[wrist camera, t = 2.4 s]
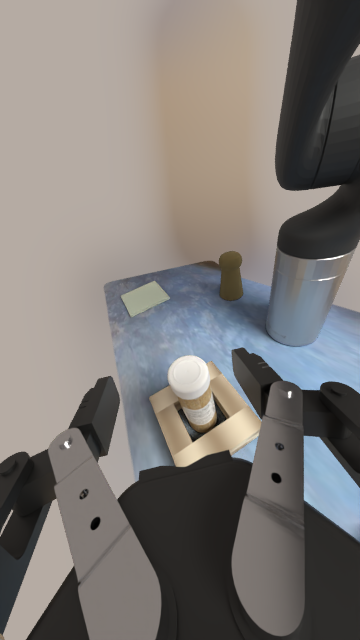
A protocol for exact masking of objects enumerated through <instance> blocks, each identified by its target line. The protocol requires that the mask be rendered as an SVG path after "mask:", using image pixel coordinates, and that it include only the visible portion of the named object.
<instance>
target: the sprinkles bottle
mask: <svg viewBox="0 0 360 640" xmlns="http://www.w3.org/2000/svg"><path fill="white" fill-rule="evenodd" d="M168 382H169V384H170V386H171V389H172V390H173V392H174V393H175V394H176V395H177V397H178V399H179V402H180V404H181V406H182V409H183V411H184V413H185V415H186V417H187V419H188V421H189V424H190V425H191V427H192V428H193V429H194V430H196V431H197V432H201V433H205V432H208V431H211V430H212V429H213V428H214V426H215V424H216V422H217V413H216V411H215V404H214V400H213V395H212V390H211V387H210V375H209V370H208V367H207V365H206V363H205V362H204V361H203V360H202V359H201V358H199V357H196V356H192V355H188V356H183V357H180V358H178V359H177V360H175V361H174V362H173V363H172V364H171V366H170V368H169V370H168Z"/></svg>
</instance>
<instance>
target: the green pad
mask: <svg viewBox="0 0 360 640" xmlns="http://www.w3.org/2000/svg"><path fill="white" fill-rule="evenodd" d="M121 298H122V300H123V302H124V304H125V306H126V308H127V310H128V312H129V314H130V316H131V317H133V316H135V315H137V314H139V313H141V312H143V311H145V310H147V309H150V308H152V307H154V306H156V305H158V304H160V303H162V302H164V301H166V300H168V299H170V297H169V296H168V295H167V294H166V293H165V292H164V290H163V289H162V288H161V287H160V286H159V285H158V284H157V283H156V282H155V281H153V282H151V283H148V284H146V285H144V286H142V287H139V288H137V289H135V290H133V291H130V292H128V293H126V294H124V295H121Z"/></svg>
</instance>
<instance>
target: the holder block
mask: <svg viewBox="0 0 360 640" xmlns="http://www.w3.org/2000/svg"><path fill="white" fill-rule="evenodd" d="M206 365H207V367H208V370H209V375H210V387H211V390H212V395H213V399H214V401H215V402H216V404H217V405H218V407H219V408H220V410H221V411H222V412H223V414H224V415H225V417H226V418H227V420H226V421H224V422H223V423H221V424H220V425H218V426H217V427H215V428H214V429H212V430H211V431H209V432H208V433H206V434H205V435H203V436H202V437H200V438H199V439H198V440H196V441H195V442H192V440H191V438H190V436H189V433H188V431H187V429H186V427H185V425H184V423H183V421H182V419H181V417H180V415H179V413H178V410H180V409H182V406H181V404H180V402H179V399H178V397H177V395H176V394H175V393H174V392H173V390H172V389H171V386H170V385H169V386H167V387H166V388H164V389H162V390H161V391H159V392H157V393H156V394H154V395H152V396H150V397H149V399H150V401H151V404H152V406H153V409H154V412H155V414H156V417H157V419H158V422H159V424H160V427H161V429H162V432H163V434H164V437H165V440H166V442H167V445H168V447H169V450H170V452H171V455H172V457H173V460H174V462H175V465H176V467H186V466H188V465H190V464H192V463H194V462H195V461H197V460H199V459H201V458H203V457H204V456H206V455H209V454H213V453H217V452H221V451H225V450H229V451H230V454H231V456H232V455H233V454H234V453H236V452H237V451H238V450H240V449H241V448H243V447H244V446H245V445H247V444H248V443H249V442H251V441H252V440H253V439H255V438H256V437H258V436H259V432H260V427H261V421H260V420H259V418H258V417H257V416H256V415H255V413H254V412H253V411H252V410H251V409H250V407H249V406H248V405H247V404H246V402H245V401H244V400H243V399H242V398H241V396H240V395H239V394H238V393H237V391H236V390H235V389H234V388H233V386H232V385H231V384H230V383H229V382H228V380H227V379H226V378H225V377H224V375H223V374H222V373H221V372H220V371H219V369H218V368H217V367H216V366H215V364H214V363H213V362H212V361H210V362H208V363H207V364H206Z"/></svg>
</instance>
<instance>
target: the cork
mask: <svg viewBox="0 0 360 640" xmlns="http://www.w3.org/2000/svg"><path fill="white" fill-rule="evenodd" d="M241 263H242V257H241V255H240V254H239V253H238V252H234V251H230V252H226V253H224V254H222V255H221V256H220V258H219V266H220V268H221V269H222V271H221V284H220V297H221V298H222V299H224V300H229V301H232V300H237V299H239V298H241V297H242V296H243V288H242V281H241V275H240V268H239V267H240V266H241Z"/></svg>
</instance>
